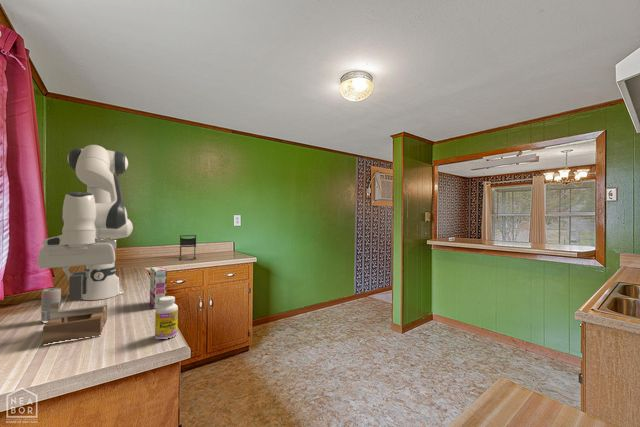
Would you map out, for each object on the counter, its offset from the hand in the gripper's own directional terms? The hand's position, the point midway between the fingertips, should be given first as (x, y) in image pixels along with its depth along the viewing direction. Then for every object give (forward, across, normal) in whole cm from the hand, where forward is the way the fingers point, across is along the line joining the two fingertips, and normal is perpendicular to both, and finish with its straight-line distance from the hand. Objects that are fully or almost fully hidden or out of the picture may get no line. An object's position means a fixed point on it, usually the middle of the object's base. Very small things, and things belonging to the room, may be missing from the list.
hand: (78, 278), depth 96 cm
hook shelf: (+18, 0, 0) cm, 18 cm away
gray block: (+6, 0, 0) cm, 6 cm away
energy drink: (+18, +11, -18) cm, 28 cm away
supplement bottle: (+19, -26, +18) cm, 37 cm away
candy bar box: (+18, -24, -20) cm, 36 cm away
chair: (+17, -49, -150) cm, 159 cm away
